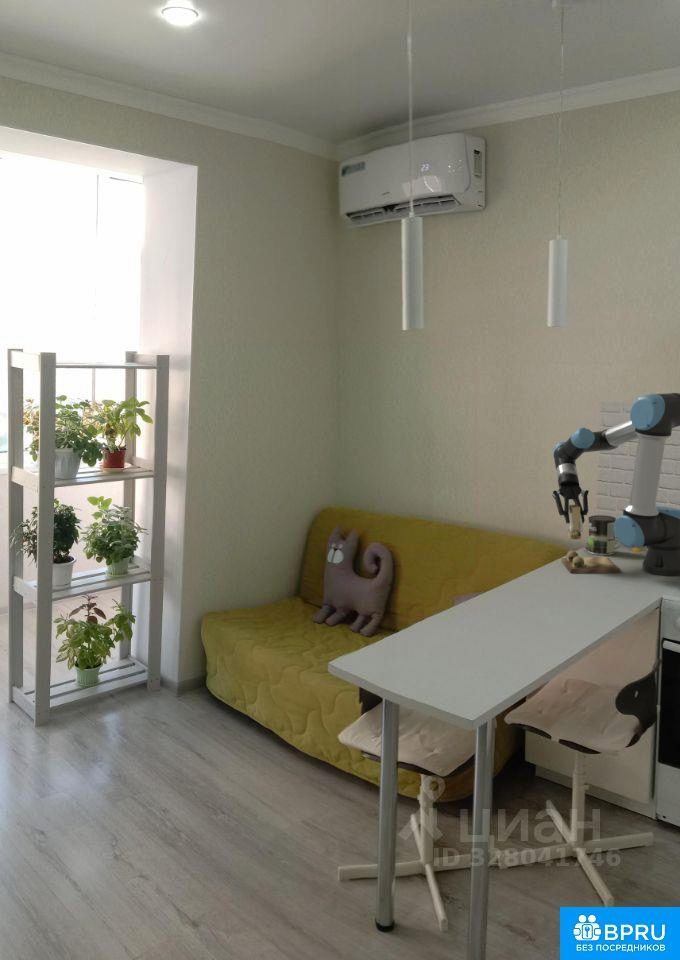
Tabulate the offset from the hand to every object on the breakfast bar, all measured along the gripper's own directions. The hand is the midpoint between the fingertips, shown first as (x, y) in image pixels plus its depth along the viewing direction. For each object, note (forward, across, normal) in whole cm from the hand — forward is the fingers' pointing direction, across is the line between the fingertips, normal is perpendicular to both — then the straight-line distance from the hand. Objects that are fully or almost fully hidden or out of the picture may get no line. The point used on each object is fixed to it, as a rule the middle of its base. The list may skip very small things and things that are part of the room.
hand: (576, 529), depth 297 cm
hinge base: (+8, -6, -13) cm, 16 cm away
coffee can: (-8, -16, -29) cm, 34 cm away
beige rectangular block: (0, 0, -6) cm, 6 cm away
